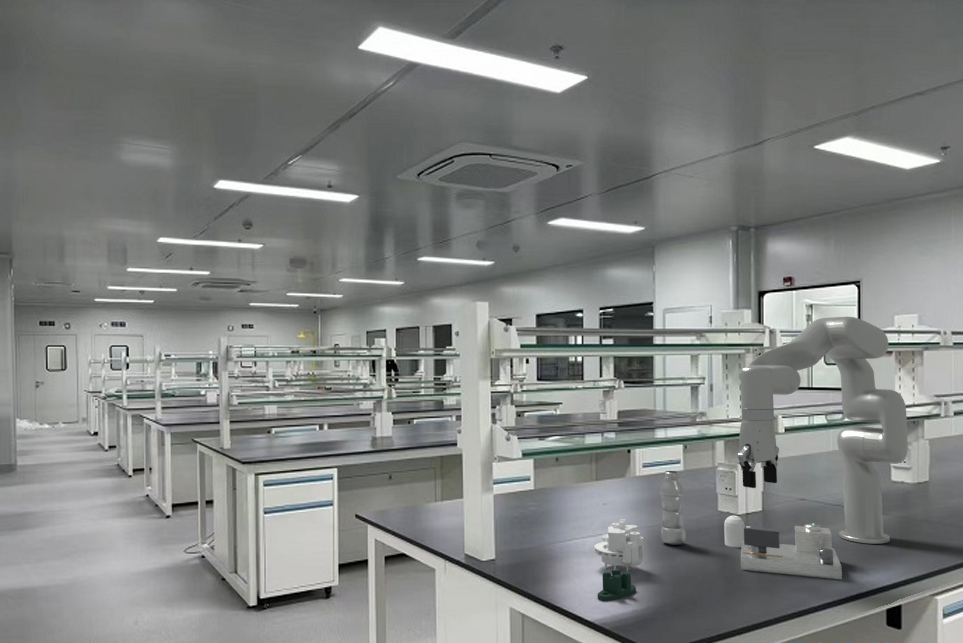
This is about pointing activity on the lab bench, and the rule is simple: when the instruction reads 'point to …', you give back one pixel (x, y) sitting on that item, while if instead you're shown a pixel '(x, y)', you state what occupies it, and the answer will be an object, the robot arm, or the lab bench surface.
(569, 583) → the lab bench surface
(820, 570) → the levelling base
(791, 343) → the robot arm
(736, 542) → the capsule
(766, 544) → the block
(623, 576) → the mount
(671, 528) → the plastic bottle
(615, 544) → the mechanical part
